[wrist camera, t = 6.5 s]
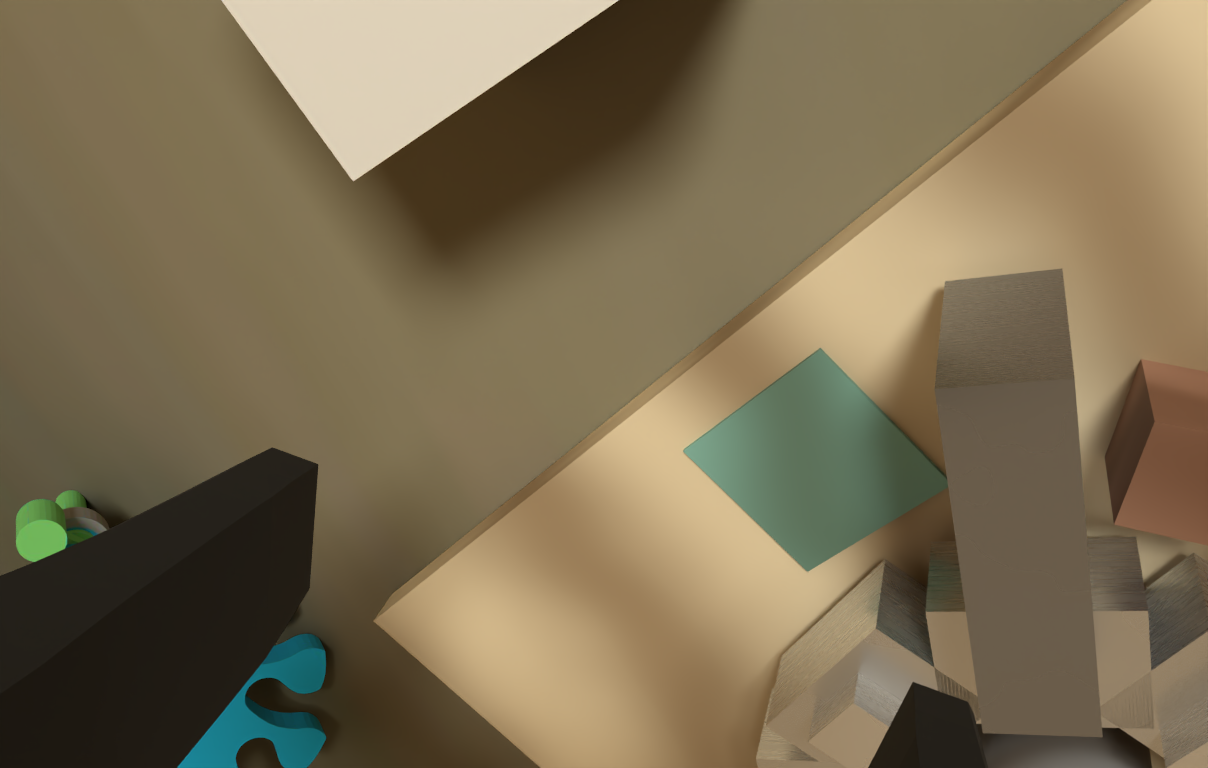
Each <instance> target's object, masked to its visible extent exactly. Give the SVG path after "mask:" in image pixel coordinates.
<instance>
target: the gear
mask: <svg viewBox="0 0 1208 768" xmlns="http://www.w3.org/2000/svg"><path fill="white" fill-rule="evenodd" d="M108 529H110V528H109V526H108V523H107V522H106V520H105V519H104V518H103V517H102V516H101V515H100V514H99V513H97V512H96V511H93V510H91V509H88V508H87V507H86V501H85V498H84V497H83V496H82V495H81V494H80V493H79V492H77V491H73V490H70V491H65V492H63V493H61V494H60V495H59V496H58V497H57V499H56V502H53V501H51V500H46V499H38V500H33V501H31V502H28V503H27V504H25V505H24V506H23V507H22V508H21V509H20V510H19V512H18V514H17V517H16V546H17V550H18V551H19V553H20V554H21V555H22V556H23V557H24V558H25V559H27V560H29V561H33V562H36V561H38V560H40V559H43V558H45V557H47V556H50V555H52V554H54V553H56V552H59V551H61V550H63V549H66V548H68V547H70V546H72V545H75V544H77V543H79V542H82V541H84V540H86V539H88V538H91V537H93V536H95V535H97V534H99V533H102V532H104V531H106V530H108ZM325 673H326V655H325V650H324V648H323V646H322V643H321V641H320V639H319V638H318V637H316V636H315V635H313V634H300V635H297V636H294V637H292V638H291V639H289V640H287V641H285V642H283V643H281V644H278V645H275V646H273V648H272V649H271V651H270V653H269V654H268V656H267V657H266V659H265V660H264V661H263V662H262V664H261V665H260V666H259V668H258V669H257V670H256V671H255V673H254V674H253V675H252V676H251V678H250V679H249V680H248V681H247V683H246V684H245V685H244V686H243V688H242V689H241V690H240V691H239V693H238V694H237V695H236V696H235V697H234V699H233V700H232V701H231V702H230V704H229V705H228V706H227V707H226V709H225V710H224V711H223V712H222V714H221V715H220V716H219V717H218V718H217V720H216V721H215V722H214V723H213V725H212V726H211V727H210V728H209V729H208V731H207V732H206V733H205V734H204V736H203V737H202V738H201V739H200V740H199V742H198V743H197V744H196V745H195V746H194V748H193V749H192V750H191V751H190V753H189V754H188V755H187V756H186V757H185V759H184V760H183V761H182V762H181V764H180V765H179V766H178V767H177V768H239V767H238V765H237V763H236V754H237V752H238V750H239V748H240V747H241V746H242V745H243V744H244V743H245V742H247V741H249V740H251V739H254V738H259V737H260V738H267V739H269V740H271V741H272V742H273V745H274V747H275V750H276V753H277V756H278V758H279V761H280V763H281V765H282V766H283V767H284V768H307V767H308V766H309V765H310V764H311V763H312V761H313V760H314V759H315V757H316V756H317V754H318V753H319V751H320V750H321V748H322V746H323V744H324V742H325V740H326V735H325V733H324V731H323V729H322V726H321V724H320V722H319V720H318V719H317V717H315V716H314V715H313V714H310V713H308V712H295V713H282V712H276V711H272V710H269V709H266V708H264V707H262V706H260V705H258V704H257V703H255V702H254V701H253V700H251V699H250V698H249V697H247V696H246V695H245V694H246V692H247V690H248V688H249V687H250V686H251V685H252V684H253V683H254V682H256V681H257V680H260V679H263V678H275V679H277V680H279V681H281V682H282V683H283V684H284V685H286V686H287V687H288V688H289V689H291V690H292V691H294V692H297V693H302V694H306V693H312V692H315V691H317V690H319V689H321V686H322V684H323V682H324V677H325Z"/></svg>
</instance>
